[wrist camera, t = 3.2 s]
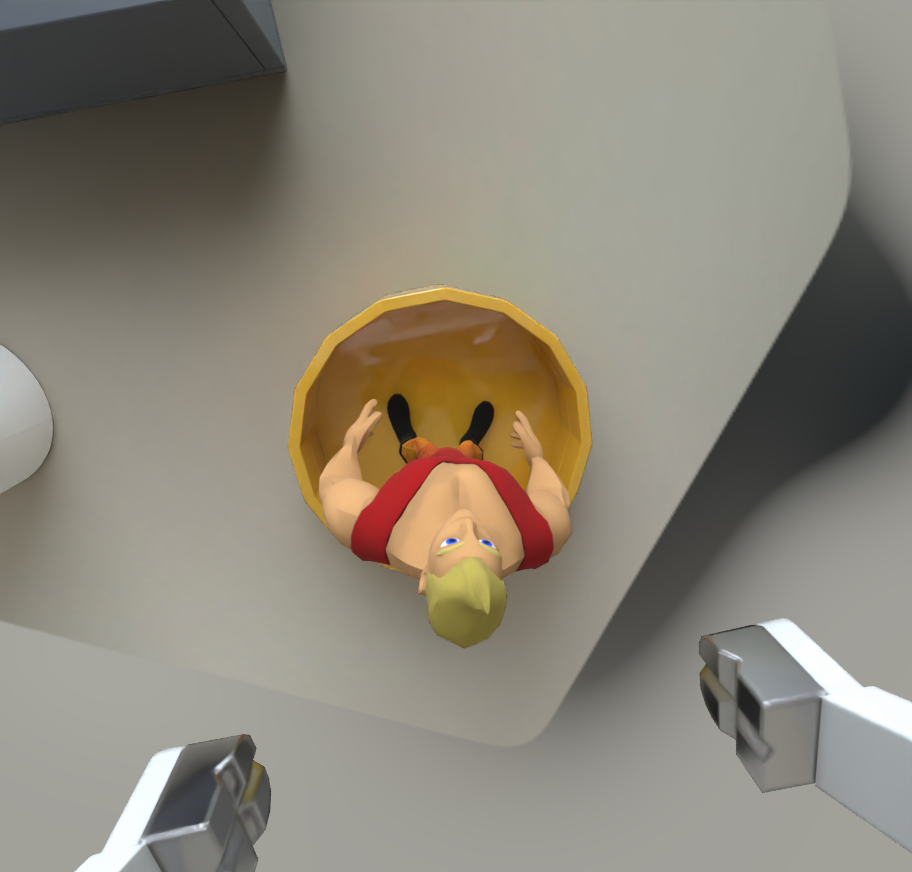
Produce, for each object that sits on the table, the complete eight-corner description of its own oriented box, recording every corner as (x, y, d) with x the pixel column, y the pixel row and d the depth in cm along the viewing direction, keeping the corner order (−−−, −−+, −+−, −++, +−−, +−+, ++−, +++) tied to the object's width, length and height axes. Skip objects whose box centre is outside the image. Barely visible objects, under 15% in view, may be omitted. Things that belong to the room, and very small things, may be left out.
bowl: (549, 262, 24) (574, 261, 20) (577, 506, 28) (602, 544, 24) (275, 315, 24) (248, 325, 20) (345, 553, 28) (334, 599, 24)
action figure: (537, 395, 25) (695, 564, 11) (526, 461, 26) (658, 692, 12) (345, 378, 24) (248, 542, 10) (342, 449, 25) (253, 684, 11)
